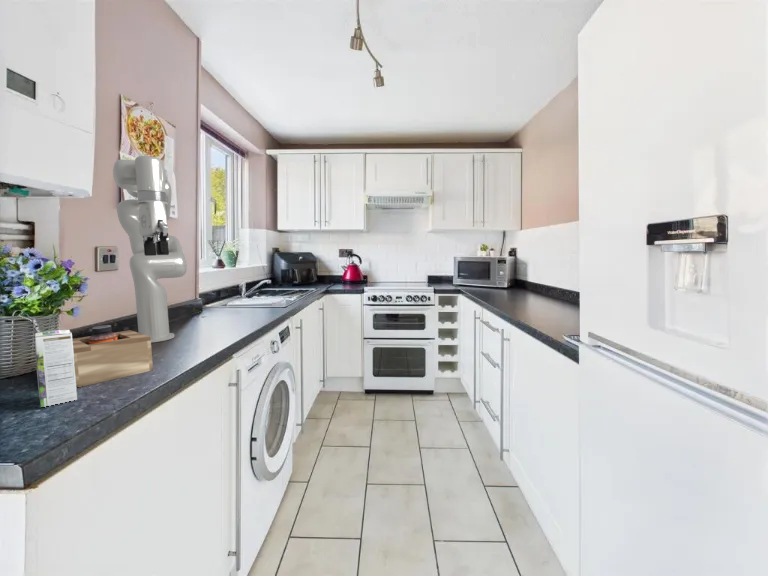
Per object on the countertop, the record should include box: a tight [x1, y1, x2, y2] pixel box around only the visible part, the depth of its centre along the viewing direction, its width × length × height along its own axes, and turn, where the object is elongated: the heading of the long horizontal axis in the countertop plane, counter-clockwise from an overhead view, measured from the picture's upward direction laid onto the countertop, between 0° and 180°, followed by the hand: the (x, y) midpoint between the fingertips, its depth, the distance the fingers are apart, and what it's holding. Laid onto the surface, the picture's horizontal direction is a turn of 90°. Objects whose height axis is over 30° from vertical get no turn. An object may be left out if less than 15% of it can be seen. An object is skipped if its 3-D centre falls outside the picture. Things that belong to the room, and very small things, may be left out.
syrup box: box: [34, 329, 78, 408], centre depth 77 cm, size 6×6×14 cm
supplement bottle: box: [89, 324, 118, 344], centre depth 96 cm, size 6×6×11 cm
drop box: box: [72, 329, 154, 389], centre depth 95 cm, size 15×16×9 cm
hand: (156, 255), depth 115 cm, fingers open, 9 cm apart
